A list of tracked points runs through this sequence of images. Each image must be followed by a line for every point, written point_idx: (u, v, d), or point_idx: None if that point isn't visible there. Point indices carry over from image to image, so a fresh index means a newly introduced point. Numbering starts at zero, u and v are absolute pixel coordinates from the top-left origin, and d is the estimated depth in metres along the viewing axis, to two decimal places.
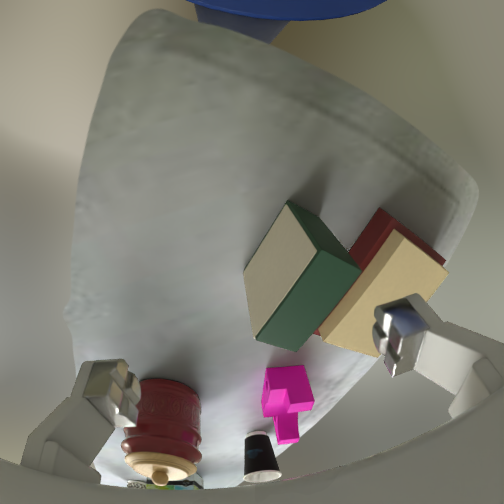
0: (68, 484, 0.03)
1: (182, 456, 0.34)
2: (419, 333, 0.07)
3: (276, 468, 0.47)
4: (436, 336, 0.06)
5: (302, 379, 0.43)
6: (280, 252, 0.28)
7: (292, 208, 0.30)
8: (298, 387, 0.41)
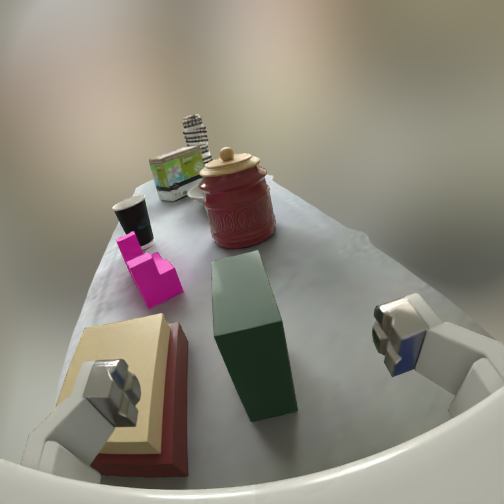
0: (68, 484, 0.03)
1: (220, 177, 0.49)
2: (419, 333, 0.07)
3: (120, 212, 0.57)
4: (436, 336, 0.06)
5: (147, 291, 0.42)
6: None
7: (295, 395, 0.23)
8: (148, 279, 0.42)
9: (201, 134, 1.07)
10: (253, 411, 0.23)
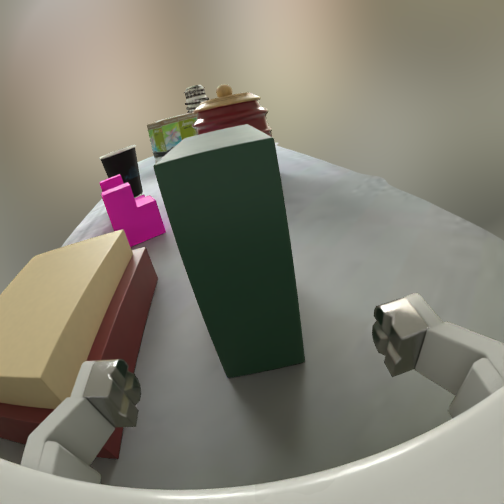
0: (68, 484, 0.03)
1: (215, 110, 0.40)
2: (419, 333, 0.07)
3: (106, 160, 0.49)
4: (436, 336, 0.06)
5: (120, 227, 0.34)
6: None
7: None
8: (123, 212, 0.33)
9: None
10: (230, 356, 0.15)
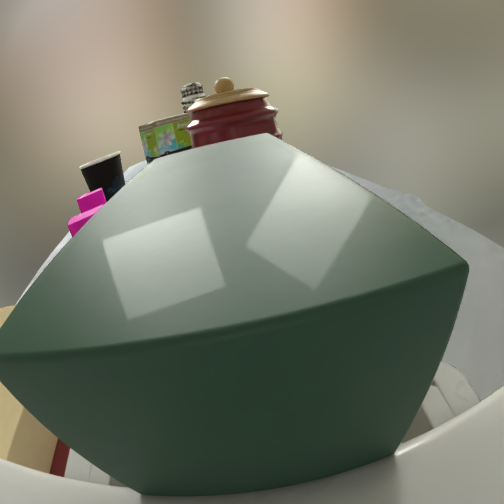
0: (68, 484, 0.03)
1: (213, 110, 0.32)
2: None
3: (86, 171, 0.41)
4: None
5: None
6: None
7: None
8: None
9: None
10: None
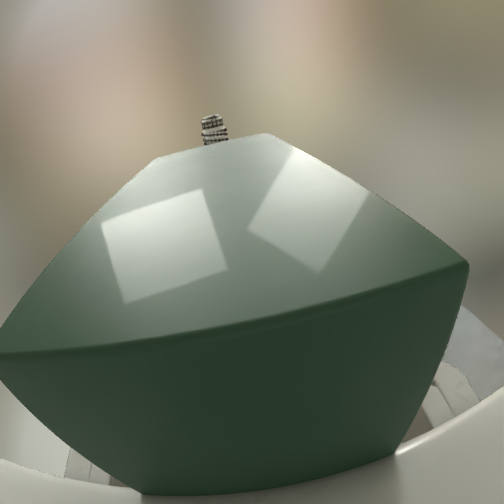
0: (68, 484, 0.03)
1: None
2: None
3: None
4: None
5: None
6: None
7: None
8: None
9: (222, 137, 0.97)
10: None
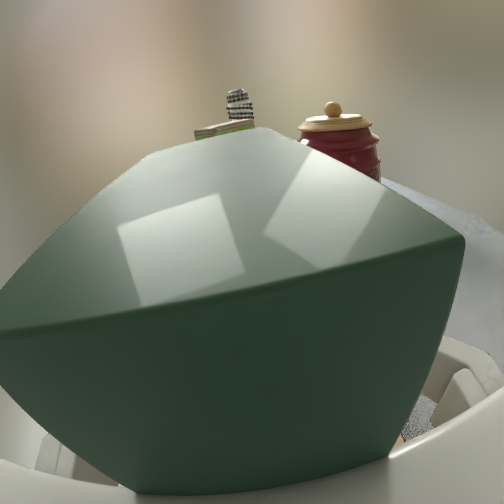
0: (68, 484, 0.03)
1: (335, 134, 0.36)
2: None
3: None
4: None
5: None
6: None
7: None
8: None
9: (247, 110, 0.94)
10: None
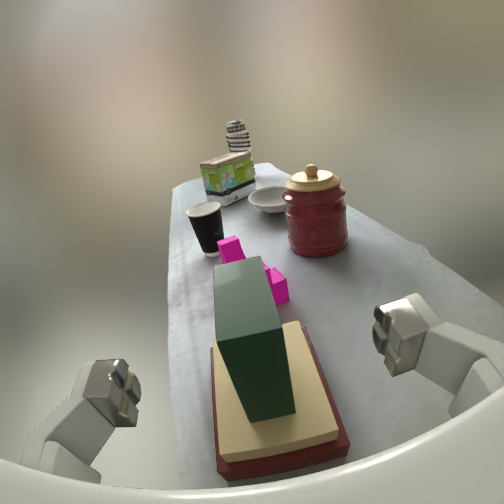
0: (68, 484, 0.03)
1: (310, 193, 0.53)
2: (419, 333, 0.07)
3: (197, 219, 0.62)
4: (436, 336, 0.06)
5: None
6: None
7: (293, 398, 0.24)
8: None
9: (245, 140, 1.11)
10: (252, 413, 0.24)
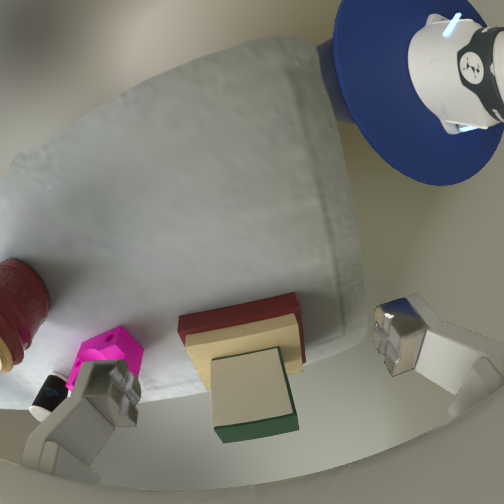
0: (68, 484, 0.03)
1: (10, 350, 0.28)
2: (419, 333, 0.07)
3: None
4: (436, 336, 0.06)
5: (137, 358, 0.44)
6: (258, 384, 0.35)
7: (281, 359, 0.38)
8: (132, 362, 0.42)
9: None
10: None
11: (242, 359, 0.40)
